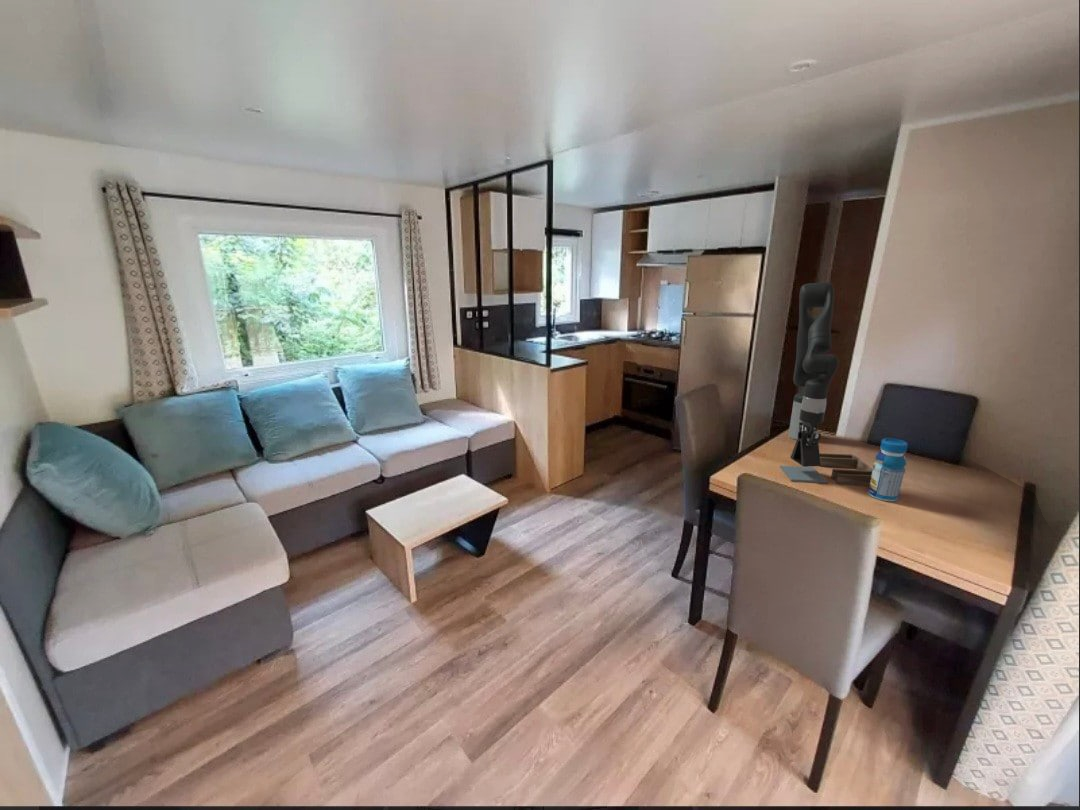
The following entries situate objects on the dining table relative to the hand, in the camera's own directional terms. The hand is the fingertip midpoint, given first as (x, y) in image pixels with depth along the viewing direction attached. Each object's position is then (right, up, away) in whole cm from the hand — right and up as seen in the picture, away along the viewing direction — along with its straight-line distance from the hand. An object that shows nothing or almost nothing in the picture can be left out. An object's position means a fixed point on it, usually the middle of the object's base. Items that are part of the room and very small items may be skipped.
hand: (805, 452), depth 163 cm
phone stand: (0, -4, +1) cm, 4 cm away
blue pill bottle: (+18, -13, -14) cm, 26 cm away
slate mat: (0, -9, +3) cm, 9 cm away
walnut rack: (+17, -8, +4) cm, 19 cm away
